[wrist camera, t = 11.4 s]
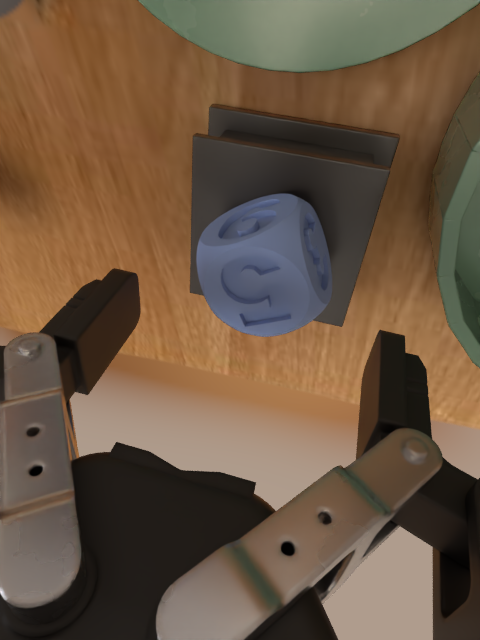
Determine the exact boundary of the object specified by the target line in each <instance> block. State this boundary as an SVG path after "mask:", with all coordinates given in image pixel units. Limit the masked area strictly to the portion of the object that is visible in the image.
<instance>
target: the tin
mask: <svg viewBox="0 0 480 640" xmlns="http://www.w3.org/2000/svg"><path fill="white" fill-rule="evenodd" d="M428 224H429V225H428V226H429V232H430V238H431V244H432V251H433V257H434V263H435V269H436V275H437V280H438V285H439V289H440V293H441V297H442V301H443V306H444V310H445V314H446V318H447V323H448V325H449V327H450V328H451V330H452V331H453V333H454V335H455V336H456V338H457V339H458V341H459V342H460V344H461V345H462V347H463V348H464V350H465V351H466V353H467V354H468V356H469V357H470V359H471V360H472V362H473V363H474V364H475V365H476V366H478V367H479V368H480V72H479V74H478V75H477V76H476V78H475V79H474V81H473V82H472V84H471V86H470V88H469V89H468V91H467V93H466V94H465V96H464V98H463V100H462V101H461V103H460V105H459V106H458V108H457V110H456V112H455V114H454V116H453V118H452V121H451V123H450V125H449V127H448V130H447V132H446V134H445V137H444V139H443V141H442V144H441V148H440V151H439V154H438V158H437V161H436V164H435V167H434V170H433V174H432V185H431V191H430V208H429V220H428Z"/></svg>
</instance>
